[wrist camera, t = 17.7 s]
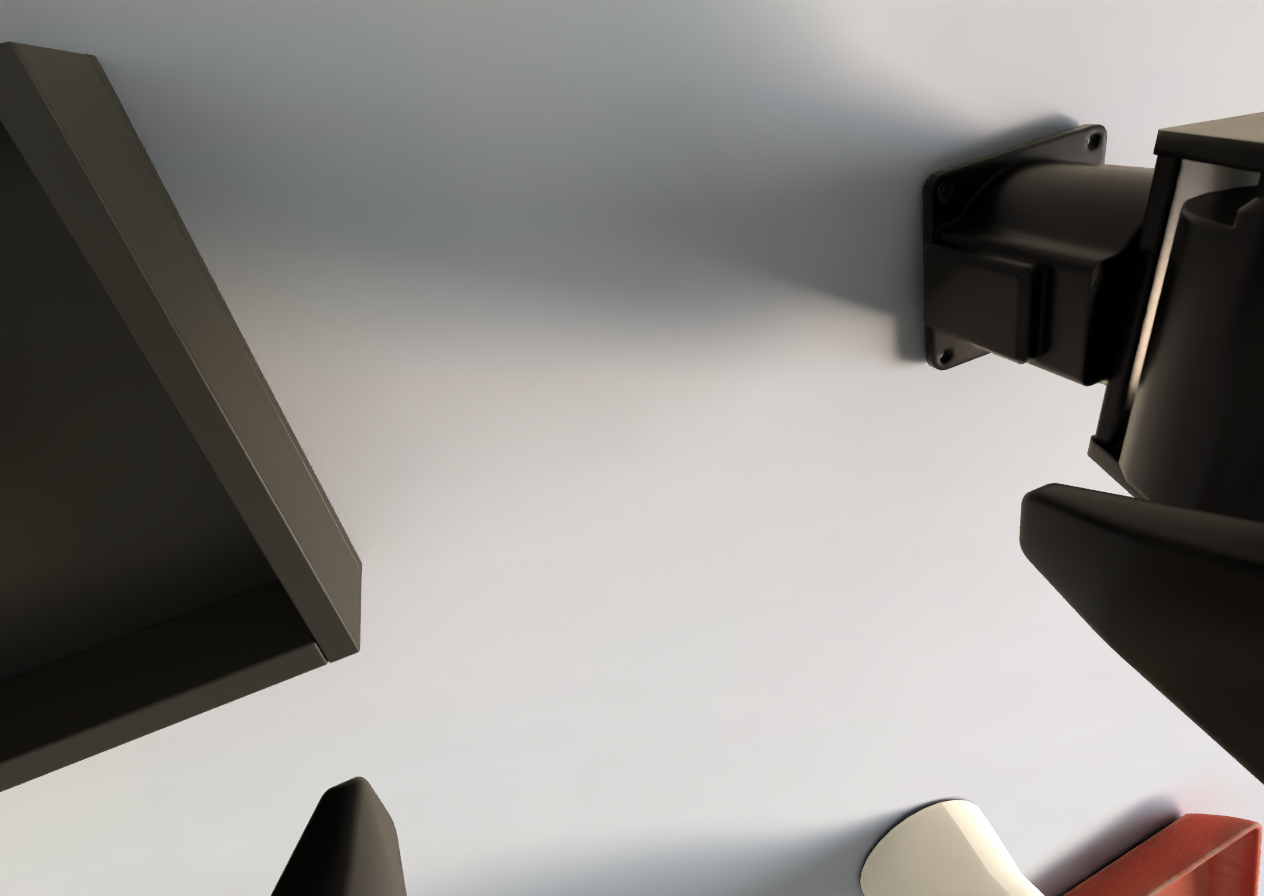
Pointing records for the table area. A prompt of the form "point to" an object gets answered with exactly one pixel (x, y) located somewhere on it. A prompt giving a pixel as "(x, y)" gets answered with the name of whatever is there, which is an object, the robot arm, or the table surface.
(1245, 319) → the robot arm
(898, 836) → the white vase
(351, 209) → the table surface
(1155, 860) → the plant saucer
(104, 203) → the dark grey tray
